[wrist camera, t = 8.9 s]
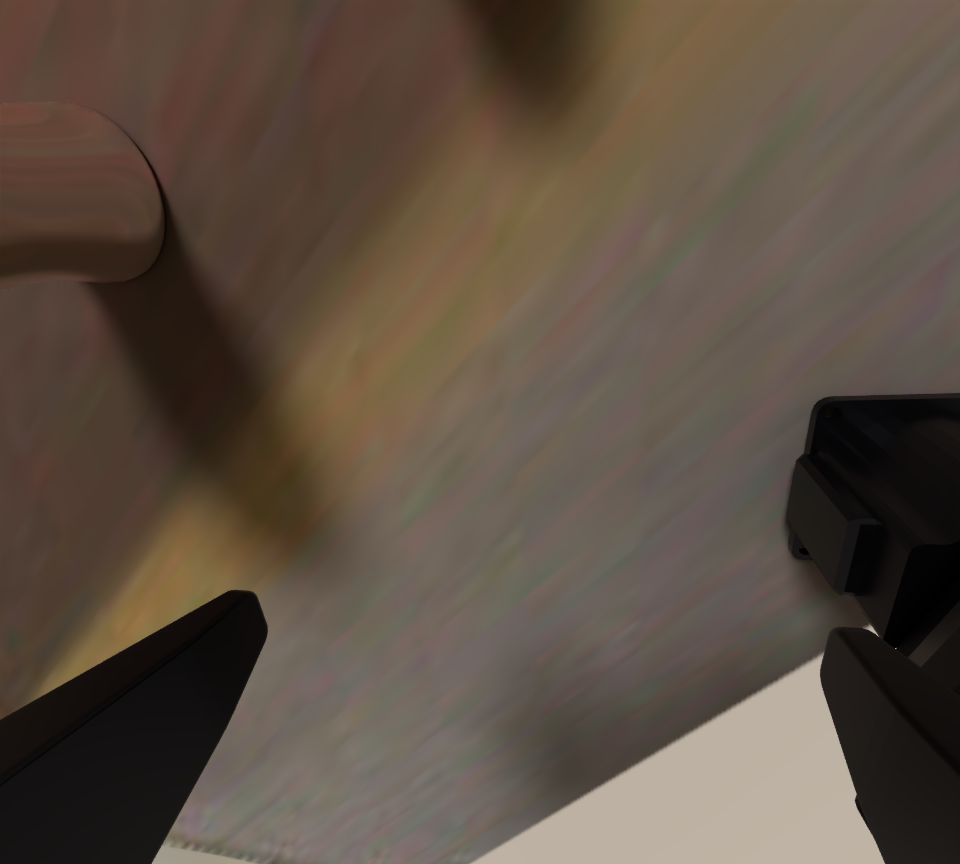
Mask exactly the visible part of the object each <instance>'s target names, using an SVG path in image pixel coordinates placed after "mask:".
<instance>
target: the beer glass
mask: <svg viewBox="0 0 960 864" xmlns="http://www.w3.org/2000/svg"><path fill="white" fill-rule="evenodd" d="M164 232H165V216H164V208H163V202H162V198H161V194H160V191H159V188H158V185H157V182H156V180H155V177H154V175H153V173H152V171H151V169H150V167H149V165H148V163H147V161H146V160H145V158H144V156H143V155H142V153H141V152H140V150H139V149H138V148H137V146H136V145H135V144H134V143H133V141H132V140H131V139H130V138H129V137H128V136H127V135H126V134H125V133H124V132H123V131H122V130H121V129H120V128H119V127H118V126H117V125H115V124H114V123H113V122H112V121H110V120H109V119H107V118H106V117H104V116H103V115H101V114H99V113H97V112H95V111H93V110H91V109H89V108H86V107H84V106H80V105H77V104H72V103H65V102H29V103H0V292H3V291H6V290H9V289H12V288H16V287H21V286H25V285H30V284H35V283H42V282H51V281H80V282H104V283H106V282H122V281H127V280H131V279H133V278H136V277H138V276H140V275H141V274H143V273H144V272H146V271H147V270H148V269H149V268H150V267H151V266H152V265H153V263H154V262H155V260H156V259H157V257H158V255H159V253H160V250H161V247H162V244H163V239H164Z"/></svg>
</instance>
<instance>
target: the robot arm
mask: <svg viewBox="0 0 960 864" xmlns="http://www.w3.org/2000/svg"><path fill="white" fill-rule="evenodd" d="M831 408H837V411H836V413H835V414H834V415H833V416H831V417H825V414H826V412H827V411H828V410H829V409H831ZM787 519H788V521H789V523H790V524H791V530H790V535H789V541H788V546H789V548H790V550H791V552H792V553H793V555H794V556H795V557H796V558H798V559H801V560H814V562H815V563H816V565H817V566H818V568H819V569H820V571H821V573H822V574H823V576H824V577H825V579H826V580H827V582H828V584H829V585H830V587H831V588H832V589H833V590H834V591H835V592H836V593H838V594H839V595H840V596H852V597H853V599H854V600H855V601H856V603H857V604H858V606H859V607H860V609H861V610H862V612H863V613H864V615H865V616H866V618H867V619H868V621H869V622H870V624H871V625H872V627H873V628H874V630H875V631H876V632H877V634H878V635H879V637H878V636H877V635H876V634H874V633H873V632H871V631H869V630H867V629H863V628H848V627H836V628H833V629H832V630H831V631H830V633H829V636H828V640H827V644H826V648H825V652H824V656H823V660H822V664H821V669H820V678H821V684H822V688H823V691H824V694H825V698H826V701H827V704H828V707H829V710H830V713H831V716H832V719H833V722H834V725H835V728H836V732H837V735H838V738H839V741H840V744H841V747H842V750H843V753H844V756H845V760H846V763H847V765H848V769H849V772H850V775H851V778H852V781H853V784H854V787H855V790H856V793H857V795H856V799H855V803H856V806H857V809H858V810H859V812H860V814H861V816H862V818H863V820H864V821H865V823H866V825H867V827H868V828H869V830H870V832H871V834H872V835H873V837H874V839H875V841H876V843H877V846H878V848H879V851H880V853H881V855H882V857H883V860H884V862H885V864H960V393H949V394H910V395H871V396H832V397H826V398H823V399H821V400H819V401H818V402H817V403H816V404H815V405H814V407H813V410H812V414H811V419H810V425H809V430H808V436H807V441H806V447H805V452H804V454H803V455H801V456H800V457H799V458H798V459H797V460H796V464H795V470H794V476H793V481H792V487H791V493H790V498H789V504H788V510H787ZM802 545H804V546H805V548H802V549H801V548H800V547H801V546H802ZM267 633H268V626H267V623H266V620H265V617H264V614H263V611H262V609H261V606H260V603H259V600H258V597H257V595H256V594H255V593H254V592H252V591H245V590H230V591H228V592H226V593H224V594H222V595H220V596H219V597H217V598H215V599H213V600H211V601H210V602H208V603H206V604H204V605H203V606H201V607H199V608H197V609H196V610H194V611H192V612H190V613H188V614H187V615H185V616H183V617H181V618H180V619H178V620H176V621H174V622H173V623H171V624H169V625H167V626H165V627H164V628H162V629H160V630H158V631H157V632H155V633H153V634H151V635H149V636H148V637H146V638H144V639H142V640H141V641H139V642H137V643H135V644H134V645H132V646H130V647H128V648H126V649H125V650H123V651H121V652H119V653H118V654H116V655H114V656H112V657H111V658H109V659H107V660H105V661H103V662H102V663H100V664H98V665H96V666H95V667H93V668H91V669H89V670H87V671H86V672H84V673H82V674H80V675H79V676H77V677H75V678H73V679H72V680H70V681H68V682H66V683H64V684H63V685H61V686H59V687H57V688H56V689H54V690H52V691H50V692H49V693H47V694H45V695H43V696H41V697H40V698H38V699H36V700H34V701H33V702H31V703H29V704H27V705H26V706H24V707H22V708H20V709H18V710H17V711H15V712H13V713H11V714H10V715H8V716H6V717H4V718H2V719H1V720H0V864H152V862H153V860H154V858H155V857H156V855H157V853H158V851H159V849H160V848H161V846H162V844H163V842H164V840H165V839H166V837H167V835H168V833H169V831H170V830H171V828H172V826H173V824H174V822H175V821H176V819H177V817H178V815H179V813H180V811H181V810H182V808H183V806H184V804H185V802H186V801H187V799H188V797H189V795H190V793H191V792H192V790H193V788H194V786H195V784H196V783H197V781H198V779H199V777H200V775H201V774H202V772H203V770H204V768H205V766H206V765H207V763H208V761H209V759H210V757H211V755H212V754H213V752H214V750H215V748H216V746H217V745H218V743H219V741H220V739H221V737H222V735H223V733H224V731H225V730H226V728H227V726H228V723H229V721H230V719H231V717H232V715H233V713H234V711H235V709H236V706H237V704H238V702H239V700H240V697H241V695H242V693H243V691H244V688H245V686H246V684H247V682H248V679H249V677H250V675H251V673H252V670H253V668H254V666H255V664H256V661H257V659H258V657H259V655H260V652H261V650H262V648H263V646H264V643H265V641H266V638H267ZM895 648H897V649H895Z"/></svg>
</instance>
